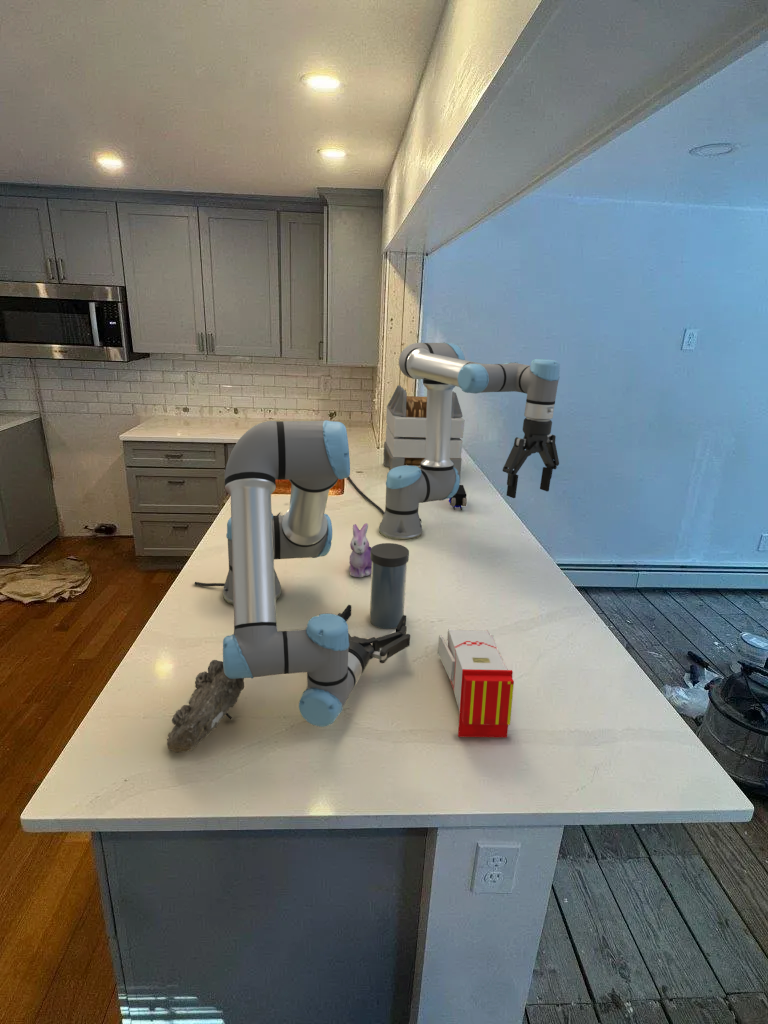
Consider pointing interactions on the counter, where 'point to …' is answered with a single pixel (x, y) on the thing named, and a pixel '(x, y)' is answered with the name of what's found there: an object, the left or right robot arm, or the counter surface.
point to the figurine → (360, 553)
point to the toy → (478, 682)
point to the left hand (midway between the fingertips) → (376, 615)
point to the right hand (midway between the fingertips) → (527, 493)
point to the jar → (387, 595)
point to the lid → (389, 555)
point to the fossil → (204, 708)
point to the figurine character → (459, 498)
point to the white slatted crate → (416, 431)
